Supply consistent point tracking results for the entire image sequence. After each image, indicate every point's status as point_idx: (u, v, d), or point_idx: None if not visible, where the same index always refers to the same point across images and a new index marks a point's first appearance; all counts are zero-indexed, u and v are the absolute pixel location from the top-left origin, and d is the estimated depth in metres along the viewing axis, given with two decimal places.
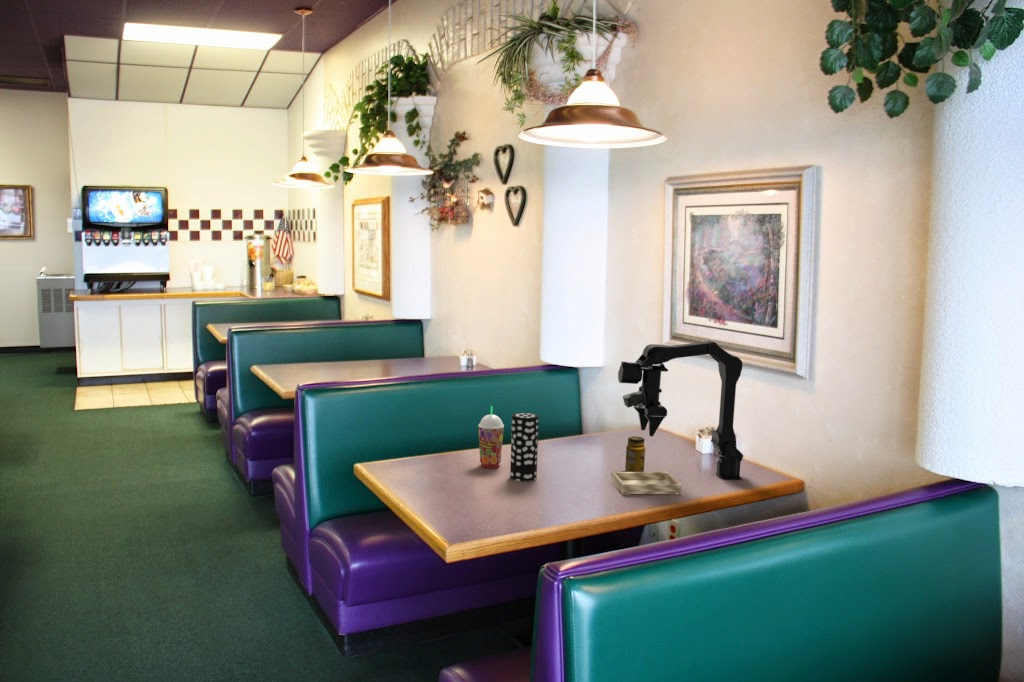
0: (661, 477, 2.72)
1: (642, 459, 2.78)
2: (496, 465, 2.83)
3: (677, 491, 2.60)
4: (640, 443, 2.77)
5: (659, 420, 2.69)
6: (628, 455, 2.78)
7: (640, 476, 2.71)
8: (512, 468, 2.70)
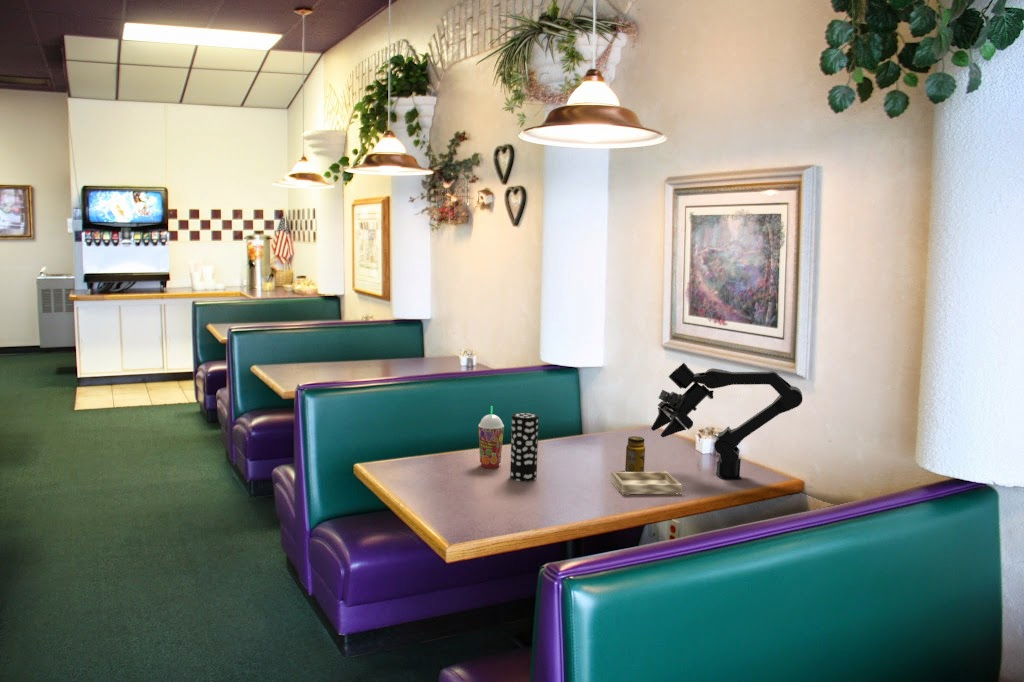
0: (661, 477, 2.72)
1: (642, 459, 2.78)
2: (496, 465, 2.83)
3: (677, 491, 2.60)
4: (640, 443, 2.77)
5: (678, 429, 2.74)
6: (628, 455, 2.78)
7: (640, 476, 2.71)
8: (512, 468, 2.70)
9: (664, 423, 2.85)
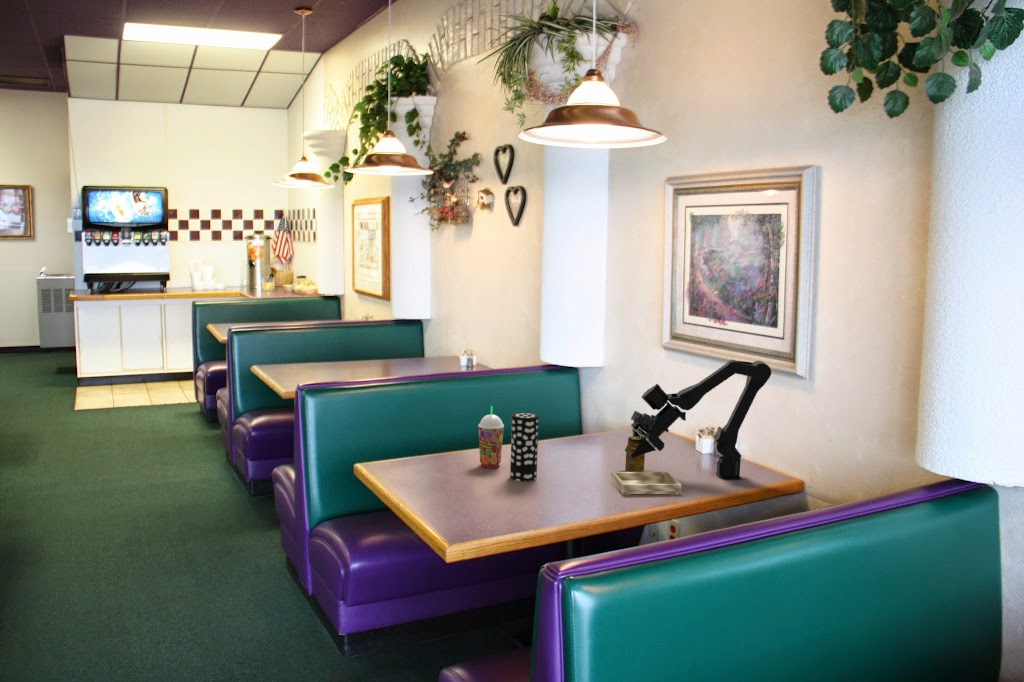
0: (661, 477, 2.72)
1: (642, 459, 2.78)
2: (496, 465, 2.83)
3: (677, 491, 2.60)
4: None
5: (648, 449, 2.75)
6: (628, 455, 2.78)
7: (640, 476, 2.71)
8: (512, 468, 2.70)
9: None
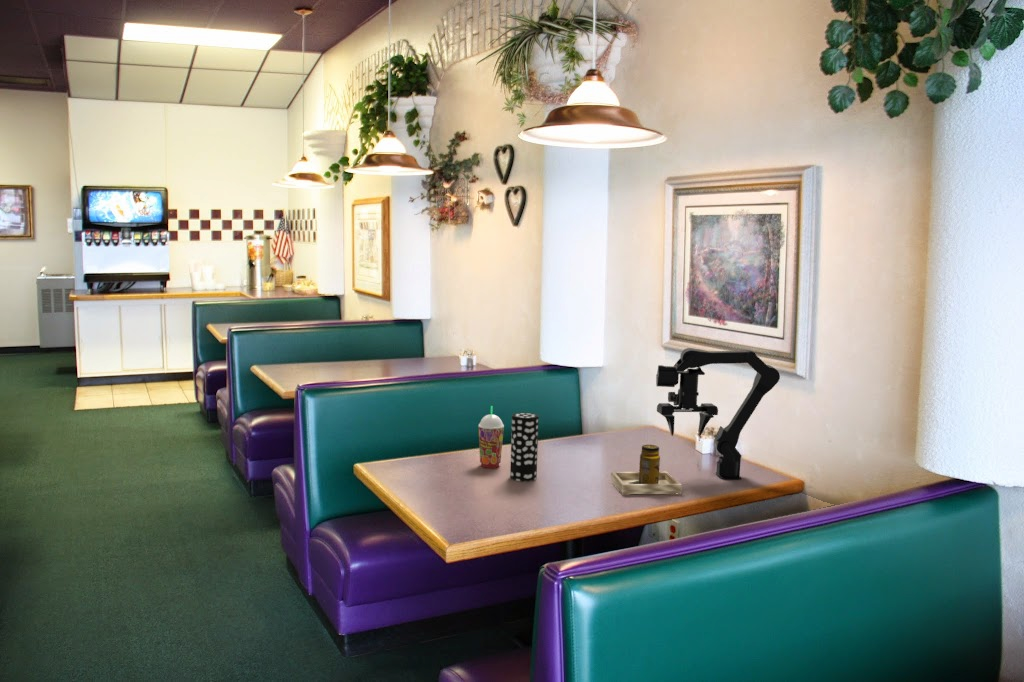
0: (661, 477, 2.72)
1: (657, 469, 2.63)
2: (496, 465, 2.83)
3: (677, 491, 2.60)
4: (655, 451, 2.62)
5: (669, 419, 2.77)
6: (642, 464, 2.63)
7: None
8: (512, 468, 2.70)
9: (702, 423, 2.79)
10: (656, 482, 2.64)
